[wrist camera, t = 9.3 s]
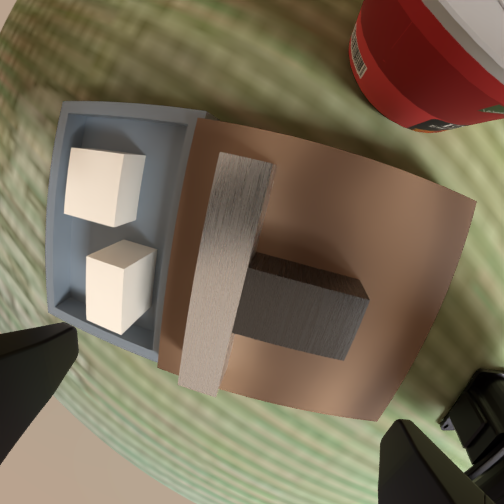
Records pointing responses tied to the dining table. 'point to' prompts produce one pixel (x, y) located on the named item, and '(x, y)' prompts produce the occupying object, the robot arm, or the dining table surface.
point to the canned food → (431, 61)
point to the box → (139, 231)
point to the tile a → (103, 185)
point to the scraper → (258, 285)
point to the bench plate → (326, 264)
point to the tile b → (119, 284)
